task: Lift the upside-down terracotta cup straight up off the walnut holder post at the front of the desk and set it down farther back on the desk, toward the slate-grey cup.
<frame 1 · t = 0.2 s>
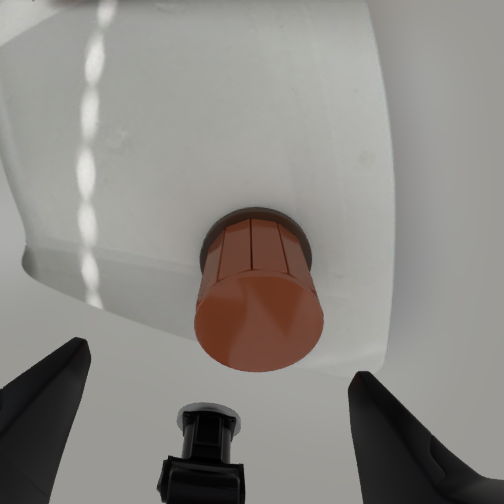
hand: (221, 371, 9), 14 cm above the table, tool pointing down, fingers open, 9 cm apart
terracotta cup: (256, 264, 22), point 1 cm above the table, touching holder
holder: (255, 259, 23), on the table
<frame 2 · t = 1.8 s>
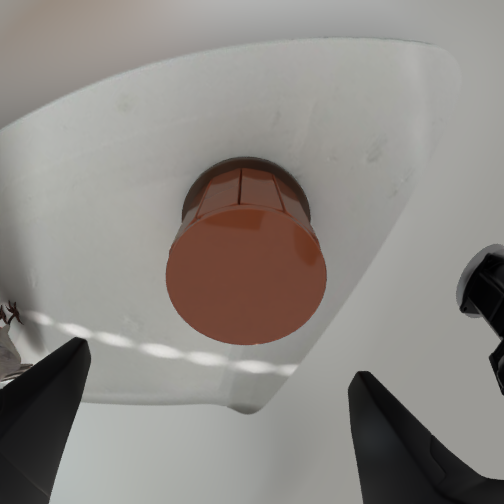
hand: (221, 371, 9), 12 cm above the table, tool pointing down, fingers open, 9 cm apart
bird: (8, 308, 24), on the table
terracotta cup: (246, 223, 19), point 1 cm above the table, touching holder
holder: (246, 218, 20), on the table
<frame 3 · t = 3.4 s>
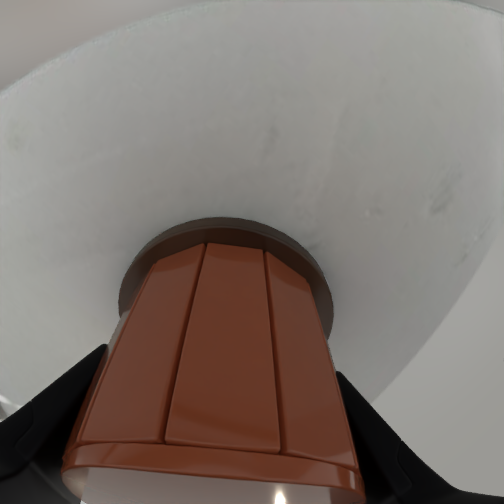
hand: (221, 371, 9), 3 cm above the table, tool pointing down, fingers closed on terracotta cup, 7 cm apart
terracotta cup: (223, 329, 11), point 1 cm above the table, touching gripper, holder
holder: (225, 315, 12), on the table
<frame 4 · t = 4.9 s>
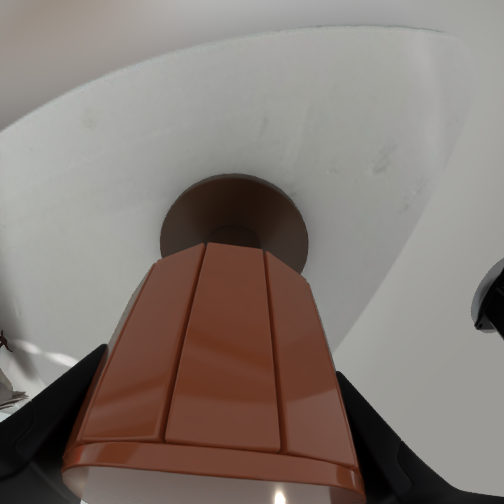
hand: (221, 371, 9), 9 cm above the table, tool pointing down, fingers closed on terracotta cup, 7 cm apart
terracotta cup: (223, 329, 11), point 7 cm above the table, touching gripper
holder: (233, 244, 17), on the table
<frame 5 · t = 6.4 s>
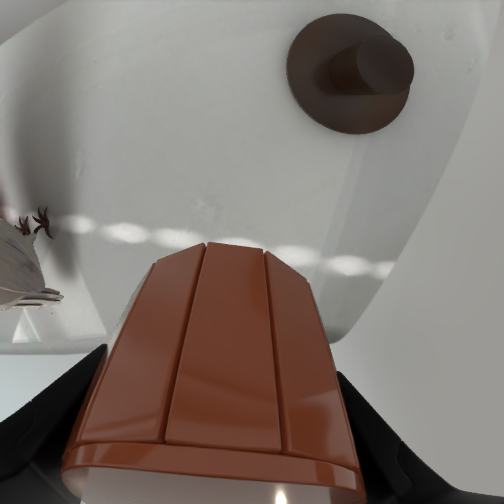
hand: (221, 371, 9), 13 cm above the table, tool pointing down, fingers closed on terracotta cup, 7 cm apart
bird: (34, 220, 21), on the table
terracotta cup: (223, 329, 11), point 11 cm above the table, touching gripper
holder: (349, 73, 16), on the table
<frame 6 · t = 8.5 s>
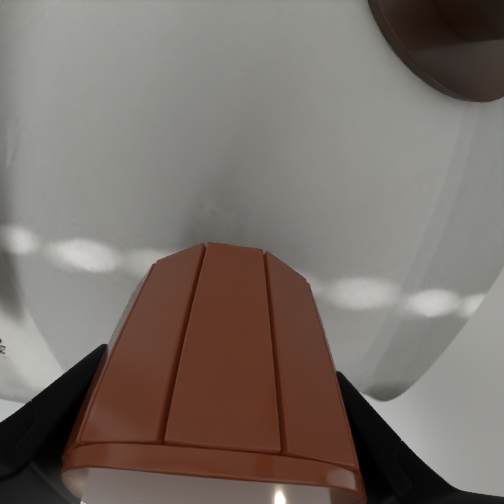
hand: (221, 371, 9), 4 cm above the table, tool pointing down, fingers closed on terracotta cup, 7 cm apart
terracotta cup: (223, 329, 11), point 2 cm above the table, touching gripper
holder: (452, 10, 7), on the table
when the fingers open (2 cm above the table, at t = 9.7 s): terracotta cup stays where it is, on the table.
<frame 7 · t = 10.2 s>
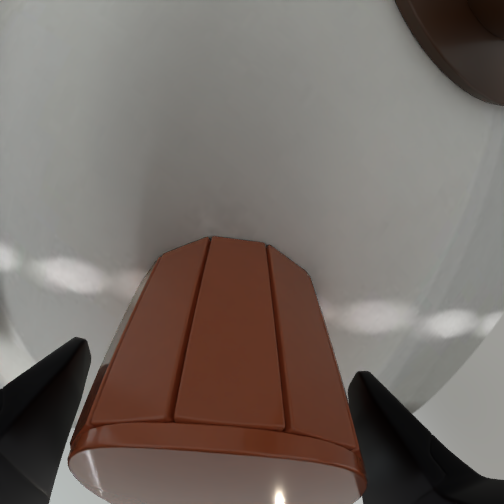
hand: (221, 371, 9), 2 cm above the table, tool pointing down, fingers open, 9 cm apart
terracotta cup: (227, 321, 11), on the table
holder: (479, 4, 6), on the table
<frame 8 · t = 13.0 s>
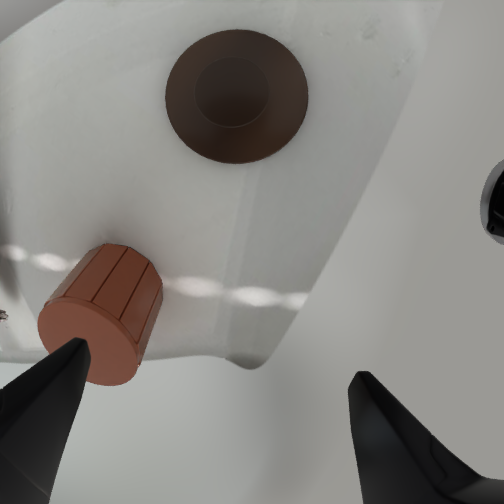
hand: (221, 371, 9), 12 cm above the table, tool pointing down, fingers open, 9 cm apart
terracotta cup: (119, 285, 22), on the table
holder: (236, 95, 16), on the table
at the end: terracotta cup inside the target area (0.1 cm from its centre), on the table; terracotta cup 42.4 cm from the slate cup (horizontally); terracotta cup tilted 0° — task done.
